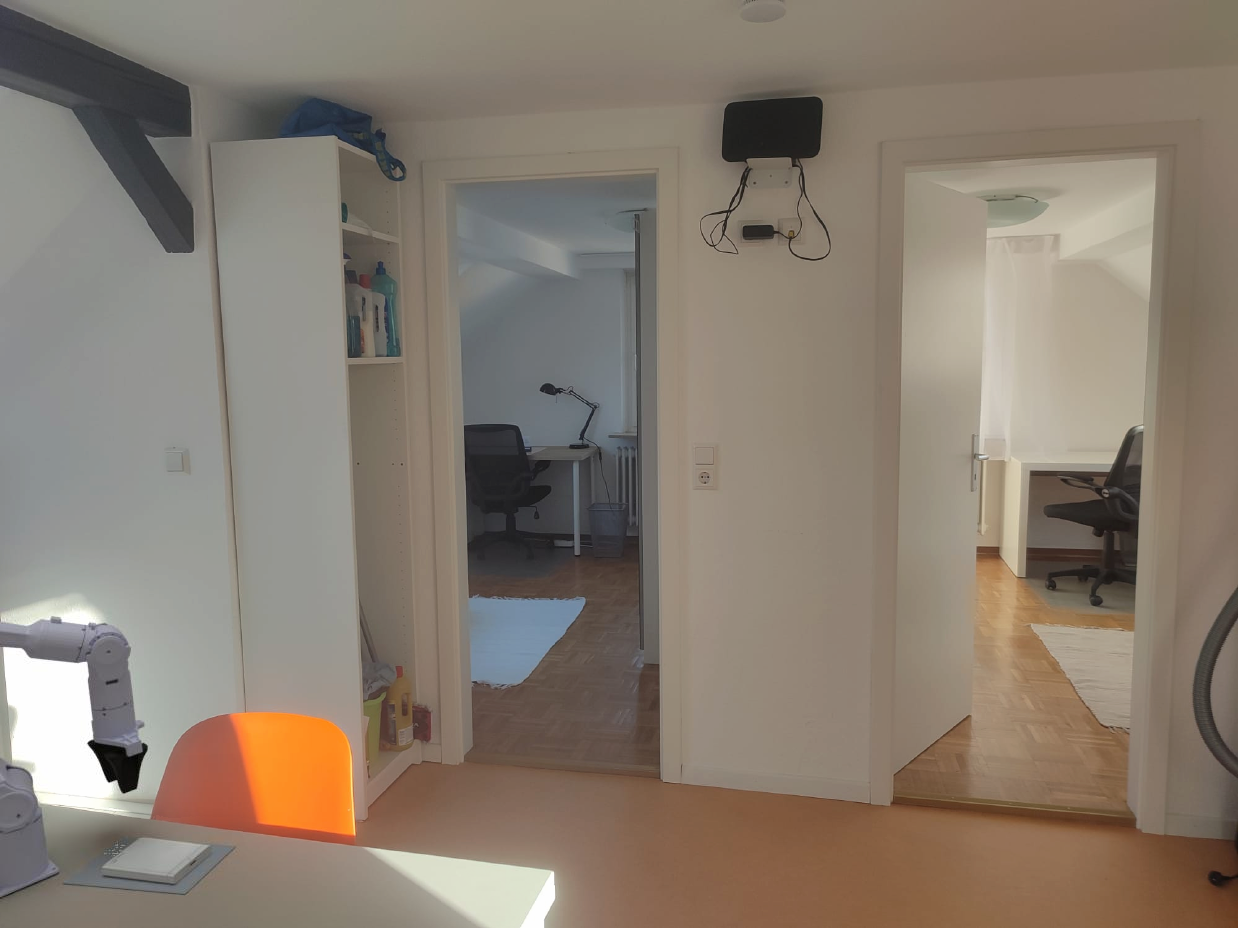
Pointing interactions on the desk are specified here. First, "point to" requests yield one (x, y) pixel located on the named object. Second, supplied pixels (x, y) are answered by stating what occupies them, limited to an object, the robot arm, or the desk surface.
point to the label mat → (94, 877)
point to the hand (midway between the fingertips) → (122, 785)
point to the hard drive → (157, 860)
